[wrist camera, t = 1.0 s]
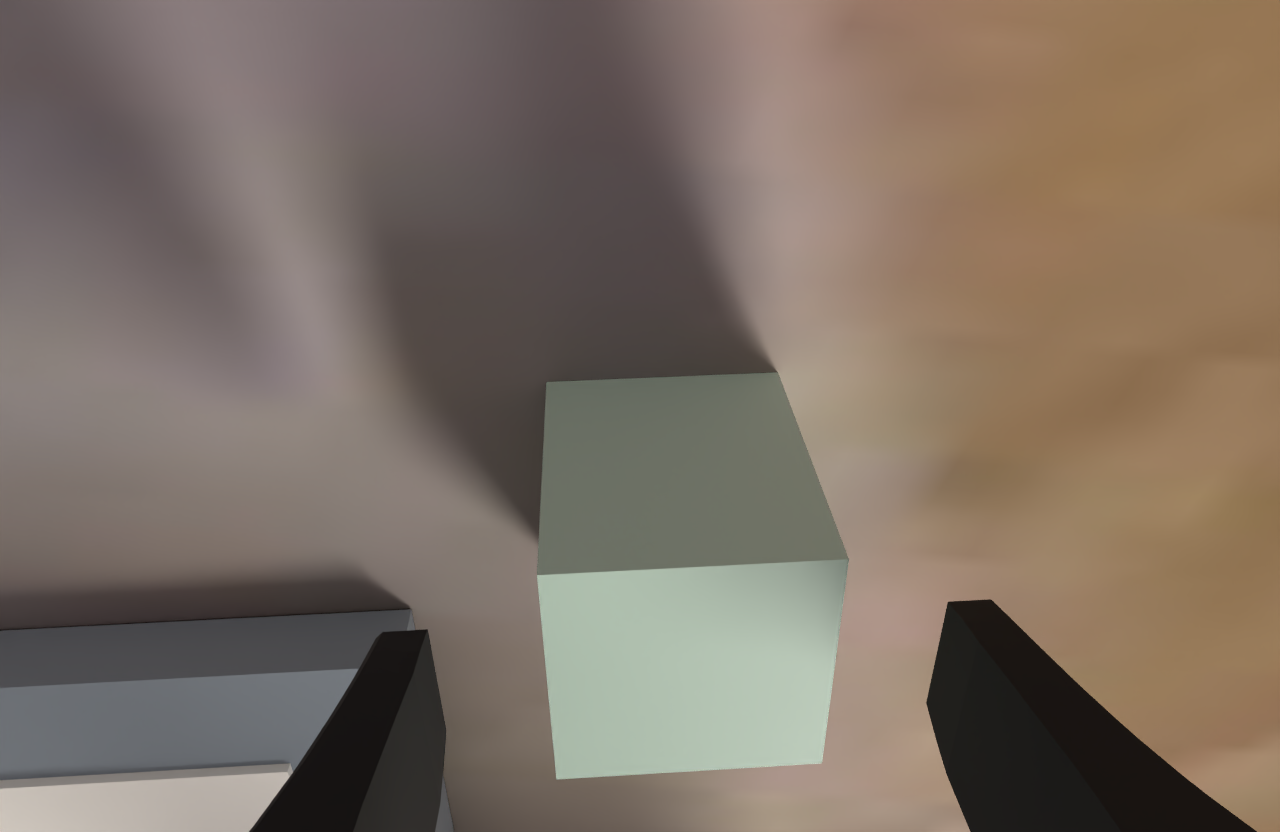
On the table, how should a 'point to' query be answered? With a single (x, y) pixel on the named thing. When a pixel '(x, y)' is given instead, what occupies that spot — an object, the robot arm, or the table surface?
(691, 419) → the sage block
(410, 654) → the robot arm
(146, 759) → the slate base
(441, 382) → the table surface
